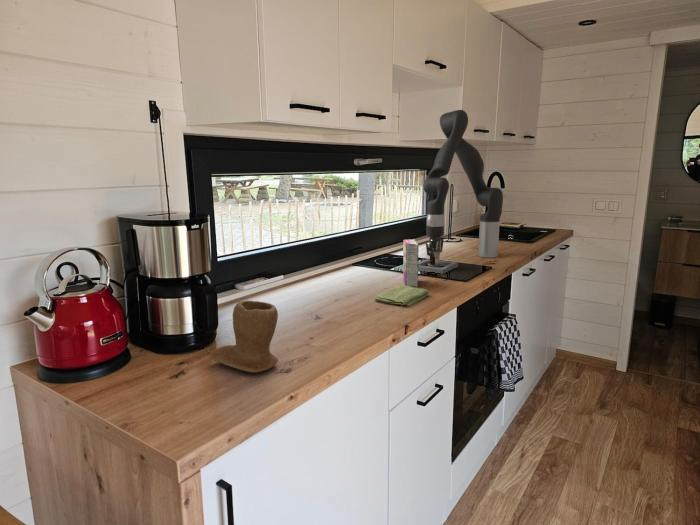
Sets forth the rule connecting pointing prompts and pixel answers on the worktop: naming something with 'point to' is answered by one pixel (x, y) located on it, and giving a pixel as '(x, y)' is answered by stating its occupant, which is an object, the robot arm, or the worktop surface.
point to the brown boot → (250, 338)
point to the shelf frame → (446, 268)
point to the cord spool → (436, 259)
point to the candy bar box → (410, 262)
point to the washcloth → (402, 295)
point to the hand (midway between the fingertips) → (434, 263)
